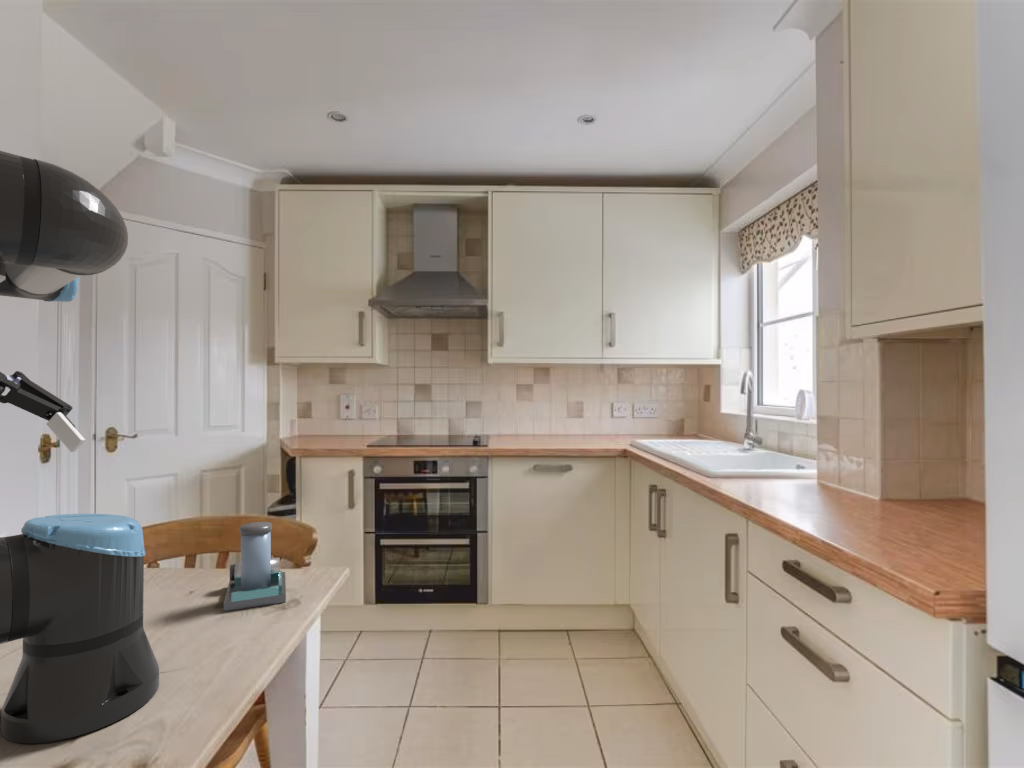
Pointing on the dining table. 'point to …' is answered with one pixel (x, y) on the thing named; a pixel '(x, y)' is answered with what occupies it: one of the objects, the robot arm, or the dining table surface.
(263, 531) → the ball
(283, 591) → the motor mount
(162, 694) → the dining table surface
